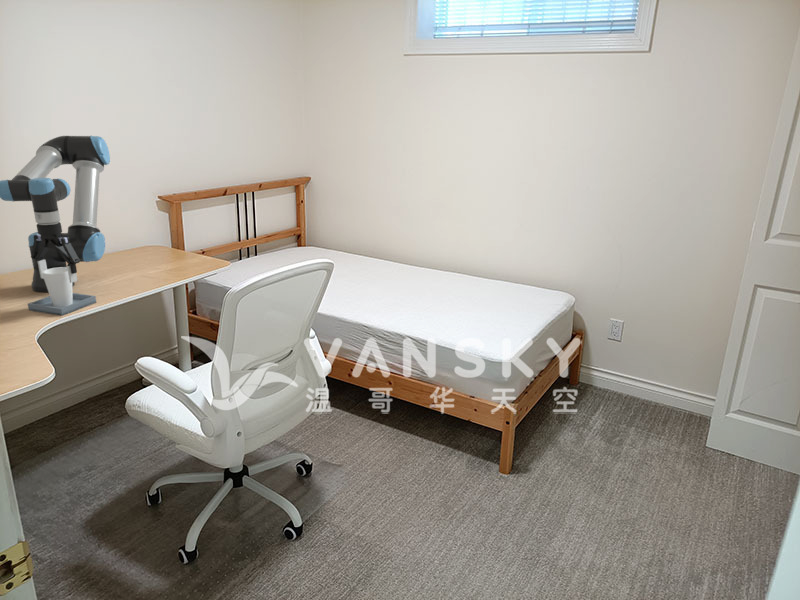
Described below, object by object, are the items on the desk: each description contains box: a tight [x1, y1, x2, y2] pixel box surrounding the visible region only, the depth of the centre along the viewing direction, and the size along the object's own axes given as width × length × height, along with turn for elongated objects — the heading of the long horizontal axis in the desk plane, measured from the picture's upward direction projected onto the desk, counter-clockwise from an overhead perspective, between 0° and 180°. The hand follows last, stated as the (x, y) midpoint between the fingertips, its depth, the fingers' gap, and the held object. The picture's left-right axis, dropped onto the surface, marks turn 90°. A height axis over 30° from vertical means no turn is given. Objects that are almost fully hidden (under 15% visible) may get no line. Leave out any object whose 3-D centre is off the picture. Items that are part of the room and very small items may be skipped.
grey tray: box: [27, 292, 97, 317], centre depth 217 cm, size 16×16×3 cm
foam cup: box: [42, 267, 74, 307], centre depth 215 cm, size 10×9×13 cm
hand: (59, 279), depth 214 cm, fingers open, 13 cm apart
